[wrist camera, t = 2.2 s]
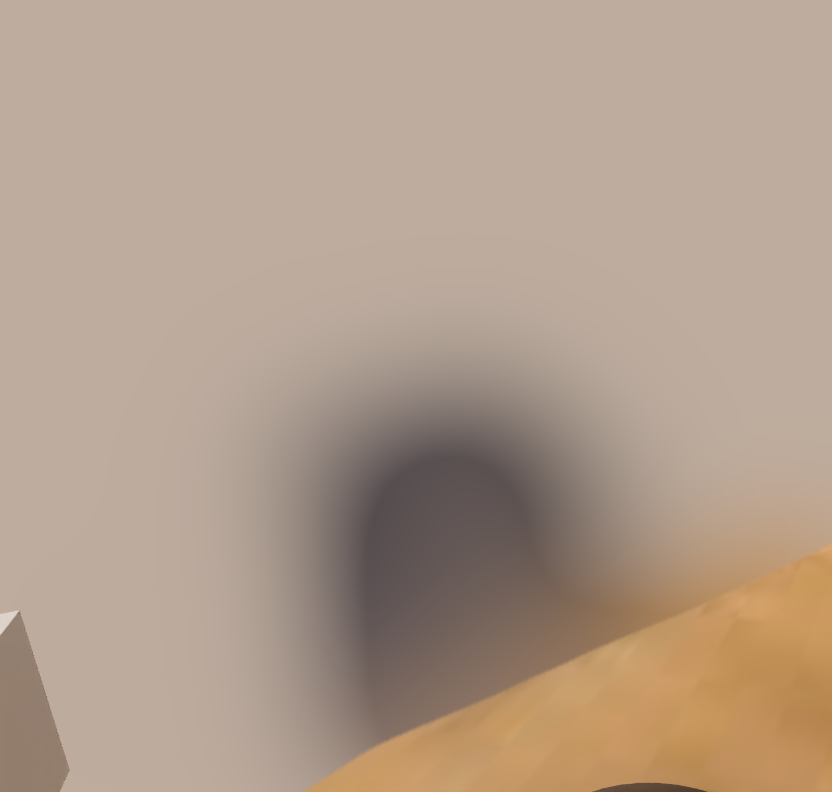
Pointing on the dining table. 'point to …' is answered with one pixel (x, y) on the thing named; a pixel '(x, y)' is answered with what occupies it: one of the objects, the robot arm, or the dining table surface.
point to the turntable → (649, 788)
